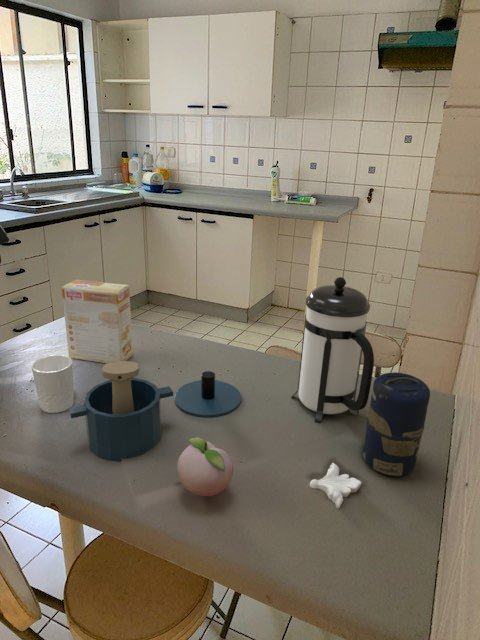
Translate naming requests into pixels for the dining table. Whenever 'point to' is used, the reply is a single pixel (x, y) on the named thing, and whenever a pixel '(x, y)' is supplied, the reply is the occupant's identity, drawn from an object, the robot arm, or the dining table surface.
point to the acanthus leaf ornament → (336, 485)
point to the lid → (207, 397)
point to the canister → (395, 423)
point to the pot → (122, 420)
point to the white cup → (54, 382)
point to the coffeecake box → (98, 321)
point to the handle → (121, 384)
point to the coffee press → (335, 351)
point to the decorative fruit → (204, 468)
